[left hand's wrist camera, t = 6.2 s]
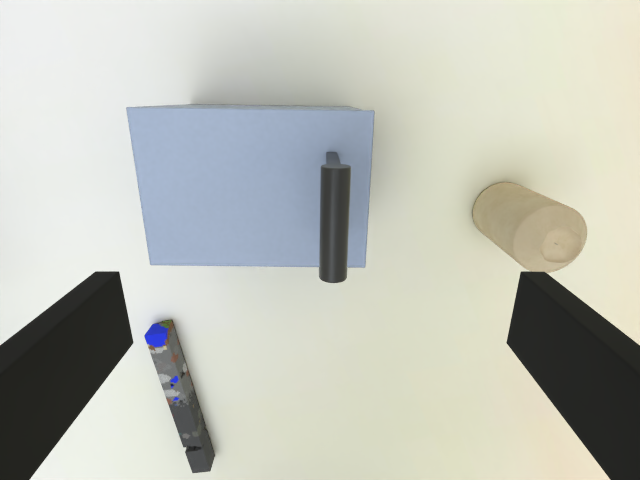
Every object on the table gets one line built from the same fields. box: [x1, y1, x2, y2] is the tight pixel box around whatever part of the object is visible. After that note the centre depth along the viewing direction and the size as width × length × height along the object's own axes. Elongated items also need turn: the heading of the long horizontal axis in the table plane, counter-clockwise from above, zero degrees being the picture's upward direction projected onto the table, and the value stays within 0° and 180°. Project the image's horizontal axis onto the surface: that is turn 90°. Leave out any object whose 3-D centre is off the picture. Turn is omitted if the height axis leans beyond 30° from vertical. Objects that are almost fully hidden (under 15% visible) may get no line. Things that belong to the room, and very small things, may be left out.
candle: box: [473, 182, 587, 273], centre depth 32 cm, size 6×6×10 cm
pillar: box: [145, 320, 215, 473], centre depth 44 cm, size 2×2×20 cm
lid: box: [126, 107, 374, 283], centre depth 22 cm, size 15×10×8 cm
